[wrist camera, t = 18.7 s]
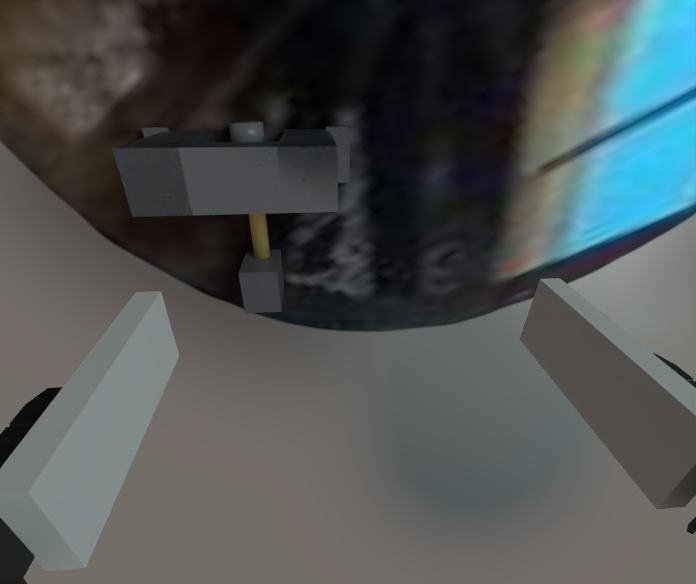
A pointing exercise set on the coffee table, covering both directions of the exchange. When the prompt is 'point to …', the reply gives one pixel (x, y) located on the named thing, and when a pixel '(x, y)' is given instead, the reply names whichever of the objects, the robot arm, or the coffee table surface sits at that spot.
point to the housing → (233, 172)
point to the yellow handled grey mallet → (258, 246)
